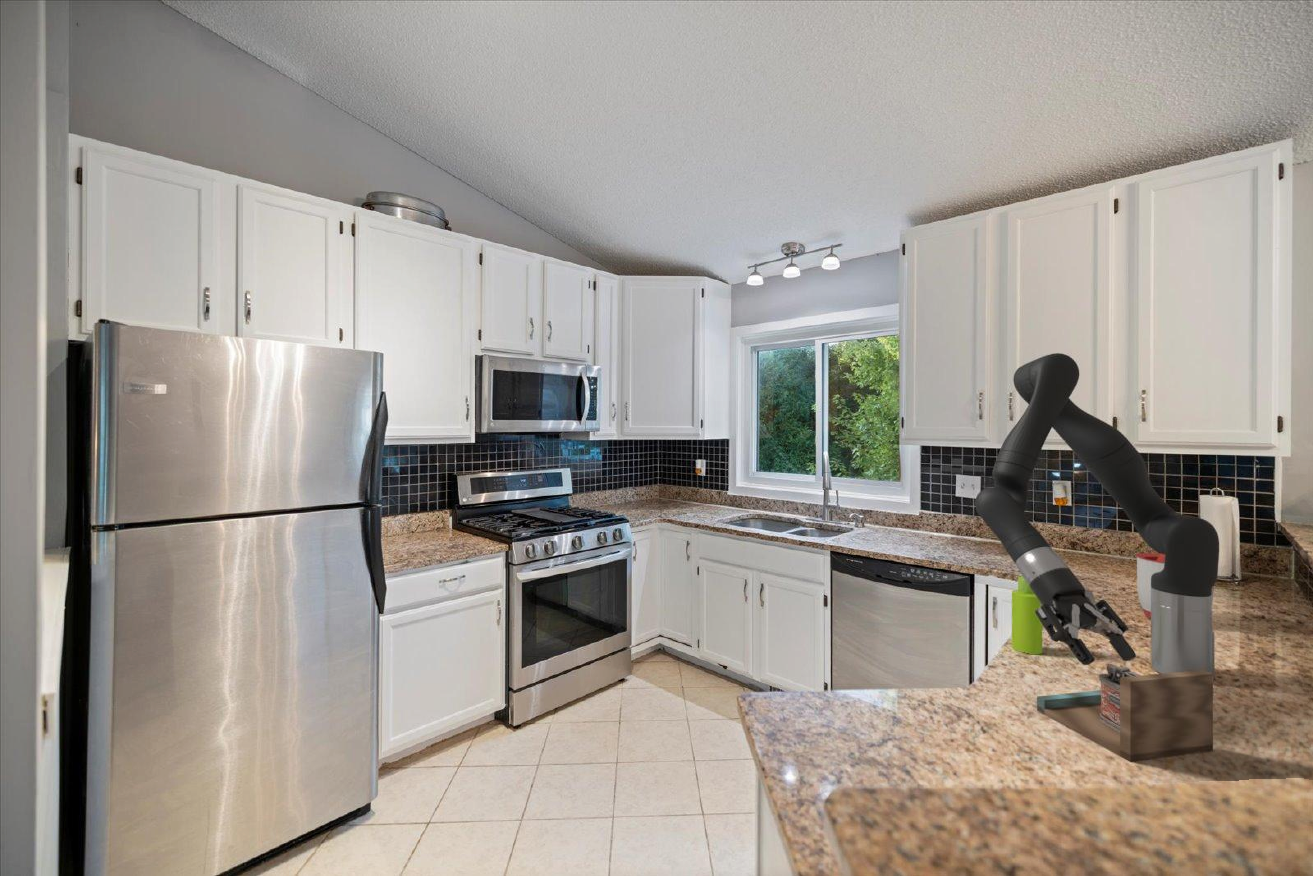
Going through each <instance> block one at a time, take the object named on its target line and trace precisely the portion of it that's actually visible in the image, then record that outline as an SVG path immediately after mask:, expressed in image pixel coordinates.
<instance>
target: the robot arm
mask: <svg viewBox="0 0 1313 876" xmlns="http://www.w3.org/2000/svg"><path fill="white" fill-rule="evenodd" d="M1079 379H1080V369H1079V366H1078V364H1077V362H1076V361H1075V359H1074V358H1072V357H1071V356H1070V355H1067V354H1065V353H1062V352H1061V353H1059V352H1057V353H1051V354H1046V355H1043V356H1042V357H1039V358H1036V359H1034V360H1032V361H1029V362H1027V363H1025V364H1023V365H1021V366H1019V367H1018V368H1017V369H1016V370H1015V371H1014V374H1013V380H1012V381H1013V386H1014V388H1015V390H1016V392H1017V393H1018V395H1019V396H1020V398H1022V399H1023V400H1024V402H1026V403H1027V404H1028V406H1026V409H1025V410H1024V412H1023V414H1022V415H1021V417H1020V419H1019V420H1018V421H1017V423H1016V424H1015V425H1014V426H1013V428H1012V429H1011V430H1010V432H1009V433H1008V435H1007V436H1006V437H1005V439H1004V441H1003V443H1002V445H1001V448H1000V449H999V452H998V454H997V457H996V459H995V461H994V464H993V469H992V477H993V480H994V485H993V487H986V488H984V489H982V490H981V491H979V493H977V495H976V497H975V500H974V501H975V502H974V507H975V510H976V512H977V514H978V515H979V517H980V518H981V519H982V520H983V521H984V523H985V524H986V525H987V527H988V528H989V529H990V531H992V533H993V534H994V535H995V536H996V538H997V539H998V540H999V541H1000V543H1001V544H1002V546H1003V548H1004V549H1005V552H1006V553H1007V555H1008V556H1009V557H1010V558H1011V560H1012V561H1013V563H1014V564H1015V566H1016V567H1017V569H1018V572H1019V573H1020V576H1022V577H1023V578H1024V579H1025V581H1026V582H1027V584H1028V585H1029V587H1030V588H1031V590H1032V591H1033V592H1034V594H1035V595H1036V597H1037V598H1038V600H1039V601H1040V602H1041V604H1042V606H1041V607H1040V608H1038V609H1037V610H1036V611H1035V613H1036V615H1037V616H1038V618H1039V620H1040V621H1041V623H1042V627H1044V629H1045V631H1046V632H1047V634H1048V636H1049V637H1050V639H1051V640H1052V641H1053V642H1055V643H1057V642H1058V643H1059V642H1062V643H1063V644H1064V645H1067V646H1068V647H1069V649H1070V651H1071V652H1072V653H1073V655H1074V657H1075V658H1076V659H1077V661H1079V662H1080V663H1081V664H1082V666H1089V665H1091V664H1092V663H1094V662H1095V659H1096V658H1095V657H1094V655H1093V654H1092V653H1091V651H1090V650H1089V648H1088V646H1086V645H1085V643H1084V642H1083V640H1082V638H1079V630H1089V631H1091V632H1093V633H1096V634H1099V635H1101V636H1102V637H1104V638H1106V639H1107V640H1108V641H1109V644H1111V645H1110V646H1111V647H1112V648H1113V649H1114V650H1115V652H1116V653H1117V654H1118V656H1119V658H1121V660H1123V661H1124V662H1130V661H1131V660H1133V659H1135V658H1136V656H1137V655H1136V652H1135V650H1134V649H1133V647H1132V646H1131V645H1130V643H1128V640H1126V638H1125V637H1124V636H1123V634H1124V633H1126V632H1127V631H1128V630H1129V627H1128V626H1127V625H1126V624H1125V622H1124V620H1122V619H1121V617H1120V616H1119V615H1118V614H1117V613H1116V612H1115V610H1114V609H1113V608H1112V607H1111V606H1110V605H1109V603H1108V602H1107V601H1106V600H1105V599H1100V600H1099V601H1097V602H1095V603H1091V602H1090V601H1089V600H1088V599H1087V598H1086V597H1085V589H1086V587H1084V585H1083V584H1082V583H1081V581H1080V580H1079V578H1078V577H1077V576H1076V575H1075V574H1074V572H1073V571H1072V570H1071V568H1070V567H1069V566H1068V564H1067V563H1066V562H1065V561H1064V559H1063V558H1062V557H1061V556H1060V555H1059V554H1058V553H1057V552H1056V551H1055V550H1054V549H1053V548H1052V546H1051V545H1050V544H1049V542H1048V541H1047V540H1046V538H1045V537H1044V535H1042V534H1041V533H1040V531H1039V530H1038V529H1037V528H1036V527H1035V526H1034V525H1033V524H1032V523H1031V522H1030V521H1029V520H1028V518H1027V517H1026V516H1025V512H1026V511H1025V510H1026V507H1027V501H1028V500H1027V499H1028V494H1029V486H1030V485H1029V484H1030V480H1031V478H1032V476H1033V474H1034V471H1035V468H1036V465H1037V462H1038V461H1039V458H1040V454H1041V451H1042V448H1043V447H1044V444H1045V442H1046V440H1047V439H1048V436H1049V434H1050V432H1051V430H1052V428H1053V430H1054V431H1055V432H1056V434H1058V435H1059V437H1060V438H1061V439H1062V441H1064V443H1065V444H1067V446H1068V447H1069V448H1070V449H1071V450H1072V452H1073V453H1074V455H1076V457H1077V458H1078V460H1079V461H1080V462H1081V463H1082V464H1083V466H1084V467H1085V468H1086V469H1087V470H1088V471H1089V473H1090V474H1091V475H1092V476H1093V477H1094V478H1095V479H1096V480H1097V481H1098V483H1100V485H1101V486H1102V487H1103V489H1104V490H1105V491H1106V492H1107V493H1108V495H1110V496H1111V497H1112V499H1113V500H1114V501H1115V502H1116V503H1117V504H1118V506H1120V508H1121V509H1122V510H1123V512H1124V513H1125V514H1126V516H1127V517H1128V519H1129V520H1130V522H1131V524H1132V525H1133V526H1134V528H1135V530H1136V531H1137V532H1138V534H1139V536H1140V537H1141V538H1142V540H1143V541H1144V542H1145V544H1147V546H1148V547H1149V548H1150V549H1152V550H1153V551H1154V552H1156V553H1158V554H1164V555H1165V563H1164V569H1163V570H1162V571H1161V572H1157V573H1154V574H1153V575H1152V576H1151V618H1150V668H1151V669H1152V670H1154V671H1155V672H1157V673H1158V674H1163V673H1174V672H1185V671H1195V670H1204V671H1207V672H1209V673H1212V674H1213V678H1215V631H1214V630H1213V629H1212V628H1213V626H1212V625H1213V623H1212V622H1213V617H1212V616H1213V611H1212V609H1213V607H1212V606H1213V602H1212V587H1213V588H1214V586H1215V584H1216V583H1217V580H1218V573H1219V561H1220V539H1219V534H1218V532H1217V529H1216V528H1215V527H1214V525H1213V524H1212V523H1211V522H1209V521H1208V520H1206V519H1204V518H1202V517H1199V516H1198V517H1197V516H1195V515H1194V516H1192V515H1187V514H1181V513H1178V512H1177V511H1175V510H1174V509H1173V508H1171V506H1169V505H1168V504H1167V503H1166V502H1165V501H1164V499H1163V498H1162V497H1161V496H1160V495H1159V494H1158V493H1157V492H1156V490H1155V488H1154V487H1153V485H1152V483H1151V480H1150V475H1149V471H1148V467H1147V464H1146V463H1145V462H1146V461H1145V460H1144V458H1143V456H1142V455H1141V453H1140V452H1139V451H1138V449H1137V448H1136V447H1135V446H1134V445H1133V443H1131V441H1130V440H1129V439H1128V438H1127V437H1126V435H1124V434H1123V432H1121V431H1120V430H1119V429H1118V428H1116V427H1114V426H1112V425H1111V424H1109V423H1107V422H1106V421H1104V420H1101V419H1099V418H1098V417H1096V416H1094V415H1092V414H1090V413H1088V412H1087V411H1085V410H1083V409H1082V408H1080V407H1079V406H1078V405H1076V403H1074V402H1073V401H1072V399H1070V397H1071V395H1072V393H1073V392H1074V390H1075V389H1076V387H1077V385H1078V382H1079ZM1098 621H1099V622H1098ZM1097 622H1098V623H1097ZM1113 622H1114V623H1115V624H1116V625H1114V624H1113ZM1054 628H1055V629H1054ZM1106 629H1107V630H1106ZM1108 630H1109V631H1108Z"/></svg>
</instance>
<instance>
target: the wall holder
mask: <svg viewBox="0 0 1313 876" xmlns="http://www.w3.org/2000/svg"><path fill="white" fill-rule="evenodd" d="M1141 675H1142V674H1141ZM1036 710H1037V712H1039V713H1041V714H1043V715H1045V716H1046V717H1049V718H1050V719H1051V720H1053V721H1055V722H1057V723H1059V724H1061V725H1063V726H1064V727H1065V728H1068V729H1070V730H1072V731H1074V732H1076V733H1078V734H1079V735H1081V736H1082V737H1085V738H1086V739H1088V740H1090V741H1092V742H1094V743H1096V744H1097V745H1099V746H1101V747H1103V748H1105V749H1106V750H1108V751H1109V752H1111V753H1114V754H1115V755H1117V756H1119V757H1121V758H1123V759H1125V760H1126V761H1129V762H1130V763H1131V762H1138V761H1145V760H1146V761H1147V760H1154V759H1160V758H1168V757H1169V758H1170V757H1175V756H1176V757H1178V756H1184V755H1191V754H1192V755H1193V754H1197V753H1200V754H1201V753H1206V752H1213V751H1214V677H1213V674H1212V673H1209V672H1207V671H1204V670H1195V671H1185V672H1174V673H1163V674H1161V673H1155V674H1144V675H1142V676H1132V677H1121V678H1120V732H1119V731H1117V730H1115V729H1114V728H1112V727H1110V726H1108V725H1107V724H1105V723H1104V722H1102V721H1101V720H1100V713H1102V712H1101V689H1100V690H1090V691H1081V692H1080V691H1079V692H1069V693H1057V694H1048V695H1041V696H1039V695H1038V696H1037V695H1036Z"/></svg>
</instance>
